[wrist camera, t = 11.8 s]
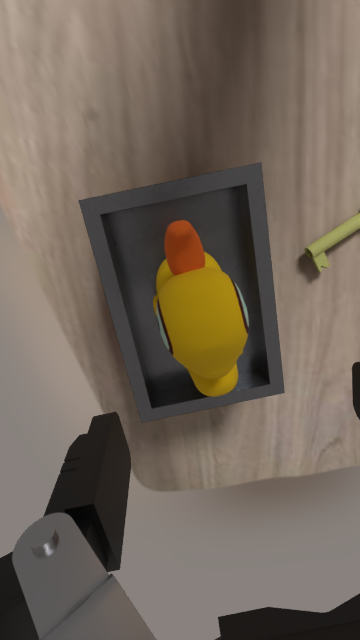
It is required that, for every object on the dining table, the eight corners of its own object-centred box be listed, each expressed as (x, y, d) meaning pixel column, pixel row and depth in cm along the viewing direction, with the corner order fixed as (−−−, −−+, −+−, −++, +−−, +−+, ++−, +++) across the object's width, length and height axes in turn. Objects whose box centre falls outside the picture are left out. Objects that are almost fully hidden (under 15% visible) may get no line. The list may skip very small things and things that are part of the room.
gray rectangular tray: (229, 176, 28) (261, 162, 19) (251, 344, 33) (284, 392, 24) (103, 203, 28) (78, 200, 19) (145, 366, 33) (141, 422, 24)
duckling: (131, 227, 22) (113, 241, 13) (207, 205, 22) (245, 203, 13) (176, 369, 26) (187, 461, 17) (241, 351, 26) (289, 433, 16)
